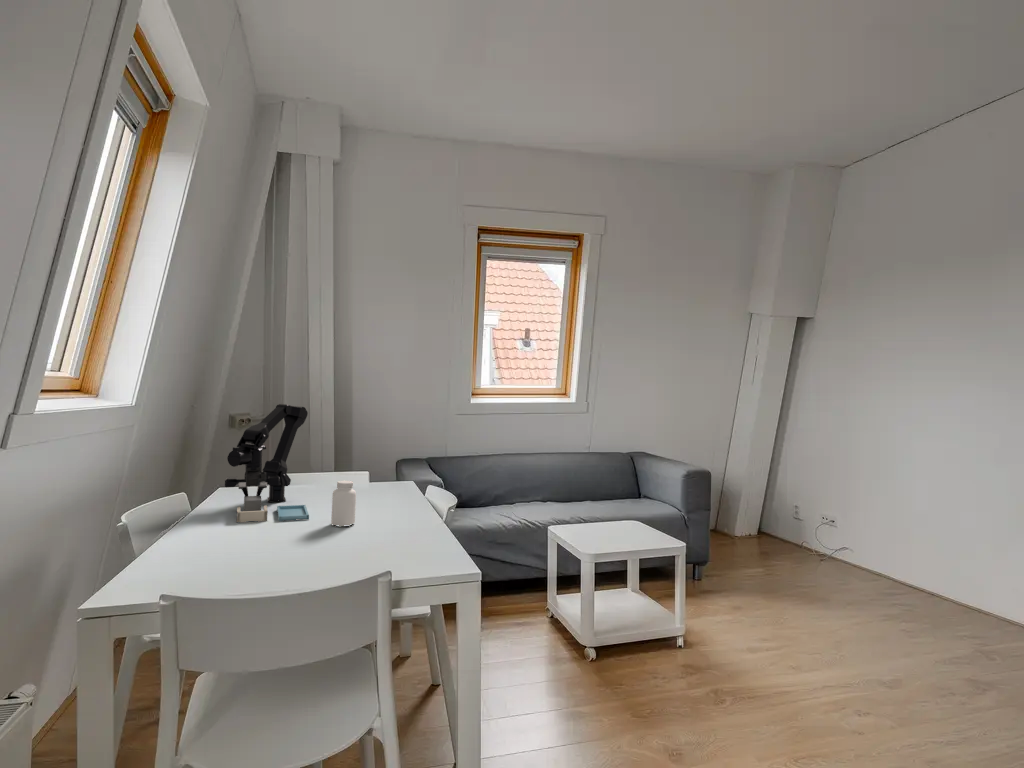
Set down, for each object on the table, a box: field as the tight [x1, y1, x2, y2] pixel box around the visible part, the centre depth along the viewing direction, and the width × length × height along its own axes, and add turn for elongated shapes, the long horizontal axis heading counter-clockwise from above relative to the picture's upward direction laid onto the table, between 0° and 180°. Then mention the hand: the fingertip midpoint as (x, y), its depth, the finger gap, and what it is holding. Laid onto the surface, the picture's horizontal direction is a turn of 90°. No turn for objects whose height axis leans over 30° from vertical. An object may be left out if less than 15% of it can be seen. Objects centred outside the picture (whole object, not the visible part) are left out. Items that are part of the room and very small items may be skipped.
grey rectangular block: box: [243, 495, 262, 511], centre depth 217 cm, size 12×6×6 cm, turn 25°
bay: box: [236, 504, 269, 523], centre depth 208 cm, size 8×10×4 cm
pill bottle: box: [330, 480, 357, 526], centre depth 207 cm, size 8×8×15 cm
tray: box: [276, 504, 310, 522], centre depth 216 cm, size 15×10×2 cm, turn 24°
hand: (252, 504), depth 222 cm, fingers closed on grey rectangular block, 2 cm apart
